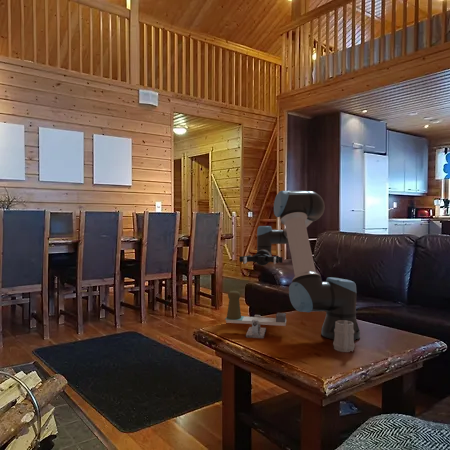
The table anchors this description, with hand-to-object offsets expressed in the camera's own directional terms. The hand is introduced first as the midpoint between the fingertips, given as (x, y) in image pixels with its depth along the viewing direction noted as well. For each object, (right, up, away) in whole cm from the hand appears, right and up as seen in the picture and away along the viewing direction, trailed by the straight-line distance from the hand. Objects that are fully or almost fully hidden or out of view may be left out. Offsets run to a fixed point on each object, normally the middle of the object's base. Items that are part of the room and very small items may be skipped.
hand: (259, 261), depth 192 cm
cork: (-12, -22, -16) cm, 30 cm away
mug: (+28, -29, -39) cm, 56 cm away
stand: (-3, -28, -18) cm, 34 cm away
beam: (-3, -23, -18) cm, 29 cm away
